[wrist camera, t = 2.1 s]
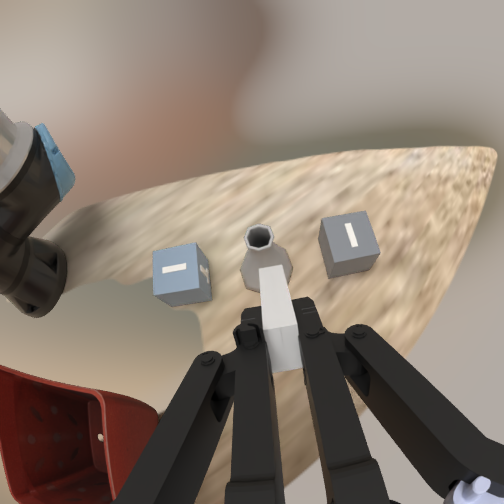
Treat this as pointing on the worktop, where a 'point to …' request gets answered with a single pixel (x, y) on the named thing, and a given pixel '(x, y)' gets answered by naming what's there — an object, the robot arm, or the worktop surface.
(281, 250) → the flask
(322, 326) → the robot arm
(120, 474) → the plant pot
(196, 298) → the slate-blue marked block
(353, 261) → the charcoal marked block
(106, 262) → the worktop surface
